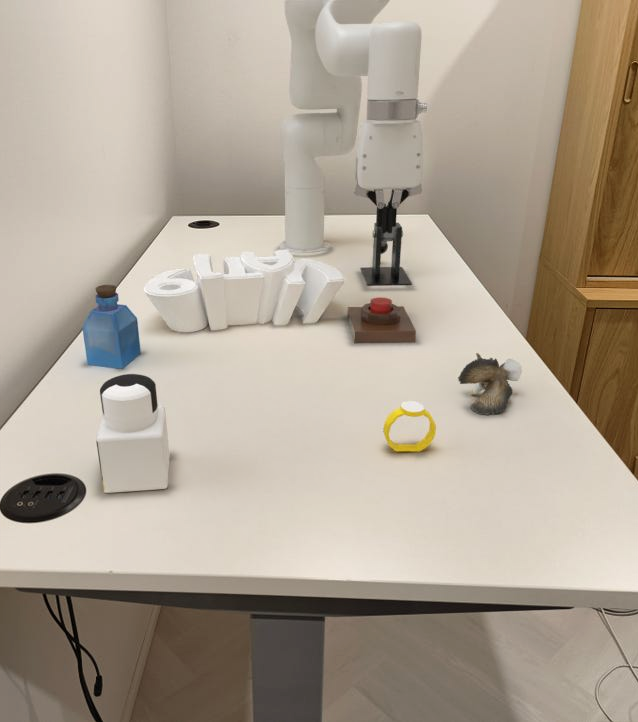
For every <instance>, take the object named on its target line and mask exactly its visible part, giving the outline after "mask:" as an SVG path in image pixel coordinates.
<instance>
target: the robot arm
mask: <svg viewBox="0 0 638 722" xmlns="http://www.w3.org/2000/svg"><path fill="white" fill-rule="evenodd" d="M389 2H390V0H284V3H283V4H284V5H283V6H284V16H285V20H286V25H287V28H288V32H289V36H290V41H291V44H290V45H291V48H290V49H291V50H290V67H289V89H288V90H289V91H288V92H289V100H290V103H291V105H292V106H293V107H294V108H296V109H298V110H307V111H309V110H311V111H312V110H314V111H315V110H336V112H335V111H334V112H310V113H307V112H306V113H303V112H302V113H295V114H292V115H289V116H288V117H286V118H285V119H284V120H283V121H282V123H281V125H280V130H279V131H280V132H279V133H280V143H281V149H282V155H283V156H282V157H283V168H284V169H283V170H284V241H282V242H280V243H279V244H278V250H288V251H289V252H291V253H294V254H315V253H319V252H324V251H327V250H329V249H330V248H331V244H330V243H329V242H328V241H326V240H325V204H326V203H325V202H326V201H325V199H326V198H325V195H326V177H325V173H324V171H323V169H322V168H321V167H320V165H319V164H318V163H317V162H316V160H315V158H318V157H319V158H320V157H332V156H335V157H336V156H344V155H348V154H350V153H351V152H352V151H353V149H354V148H355V144H356V154H355V167H354V168H355V170H354V179H355V184H354V188H353V193H354V195H355V196H359V197H362V198H366V199H369V200H370V201H371V202H372V203H373V204H374V205H375V207H376V218H375V219H376V221H375V223H376V226H377V227H380V231H381V233H386V232H387V233H392V227H396V223H397V215H398V212H397V211H398V208H399V207H400V205H401V204H403V202H405V200H406V199H407V198H409V197H413V196H418V195H421V194H422V192H423V187H422V179H423V171H424V170H423V167H424V166H423V165H424V159H423V158H424V157H423V153H424V151H423V134H422V133H423V132H422V124H421V121H420V120H417V119H418V116H419V115H420V114H422V113H427V109H428V105H427V103H426V102H423V103H422V102H420V101H419V98H418V97H419V96H418V95H419V84H420V83H419V81H420V67H421V66H420V65H421V52H422V51H421V49H422V28H421V26H420V25H419V23H417V22H415V21H405V20H404V21H402V20H401V21H386V22H379V23H373V22H374V20H375V18H376V17H377V16H378V15H379V14H380V13H381V12H382V11H383V10H384V8H385V7H386V6H387V5H388V4H389ZM362 77H367V92H366V95H367V96H366V99H367V100H366V119H365V120H366V121H361V122H360V125H359V118H360V110H361V101H362V92H363V91H362V90H363V86H362V85H363V84H362ZM358 125H359V129H358ZM357 134H358V135H357ZM356 140H357V143H356ZM384 190H390V191H391V192H390V196H389V201H388V202H387V204H386V203H385V196H384V195H385V194H384Z"/></svg>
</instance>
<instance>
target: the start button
mask: <svg viewBox="0 0 638 722" xmlns="http://www.w3.org/2000/svg"><path fill="white" fill-rule="evenodd" d="M369 303H370V311H373V312H377V313H387V312H391V309H392V304H393V300H392V299H390V298H389V297H383V296H381V297H380V296H379V297H373V298H371V299H370V302H369Z"/></svg>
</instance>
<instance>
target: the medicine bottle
mask: <svg viewBox="0 0 638 722" xmlns="http://www.w3.org/2000/svg"><path fill="white" fill-rule="evenodd" d="M99 396H100V403H101V409H102V410H101V411H102V415H101V420H100V423H99V427H98V431H97V435H96V439H95V442H96V448H97V455H98V456H97V457H98V463H99V469H100V476H101V477H100V478H101V484H102V490H103V492H104V493H105V494H110V493H111V494H112V493H125V492H139V491H153V490H154V491H155V490H156V491H157V490H165V489H167V488H168V485H169V472H170V471H169V469H170V444H169V433H168V425H167V414H166V406H165V405H163V404H158V395H157V385H156V382H155V380H153V379H152V378H151V377H149V376H147V375H143V374H137V373H126V374H125V373H124V374H121V375H118V376H114V377H111V378H110V379H107V380H106V381H105V382H103V384H102V385H101V386H100V388H99Z"/></svg>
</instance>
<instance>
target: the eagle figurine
mask: <svg viewBox="0 0 638 722" xmlns="http://www.w3.org/2000/svg"><path fill="white" fill-rule="evenodd" d="M475 356H476V359H474V360H472V361H471V362H469V363H467V364H466V365H465V367H463V369H462V371H461V372H460V374H459V376H458V377H457V380H458V382H459V384H460V385H468V384H471V385H472V384H473V385H475V384H476V385H475V387H473V388H472V391H471V393H470V395H471V396H473V395H477V394H479V393H481V392H482V391H483V392H482V393H481V394H480V396H479V397H477V399H476V400H475V401H474V402H472V403H471V405H470V406H469V407H470V408H471V409H472V411H473V412H475V414H476V415H477V414H478V415H487V416H488V415H490V414H492V415H495V414H498V413H500V412H502V411H504V410H505V408H506V407H507V405H508V403H509V400H510V398H511V397H513V389H512V386H511V385H510V383H509V381H511V382H518V381H519V380H520V378H521V376H522V373H523V370H522V365H521V364H520V363H519V362H518V361H516V360H515V359H513V358H508V359H506V361H505V362H503V363H502V364H501V365H500V364H499V361H498V359H497V358H493V357H489V358H483V357H482V356H481V354H480V353H479V352H476V353H475Z"/></svg>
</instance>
